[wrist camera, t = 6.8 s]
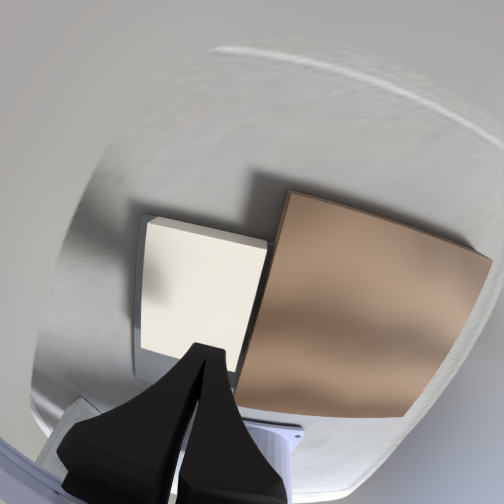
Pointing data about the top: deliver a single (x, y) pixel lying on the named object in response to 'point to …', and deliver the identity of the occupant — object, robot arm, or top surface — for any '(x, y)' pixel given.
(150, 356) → the mat
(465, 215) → the top surface
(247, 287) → the tile
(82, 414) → the skincare box
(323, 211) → the board
